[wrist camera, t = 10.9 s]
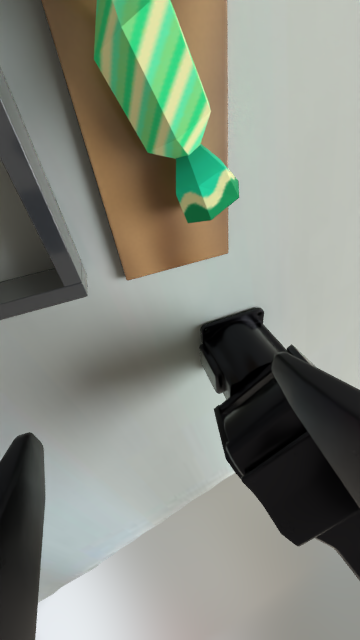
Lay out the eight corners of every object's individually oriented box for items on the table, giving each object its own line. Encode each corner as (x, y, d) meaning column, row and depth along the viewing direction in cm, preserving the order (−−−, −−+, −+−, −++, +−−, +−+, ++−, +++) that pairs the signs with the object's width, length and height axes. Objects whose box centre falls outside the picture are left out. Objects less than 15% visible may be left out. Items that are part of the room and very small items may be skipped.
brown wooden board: (216, -418, 7) (226, -455, 7) (225, 250, 20) (228, 253, 19) (-104, -475, 6) (-120, -525, 5) (125, 277, 19) (126, 281, 18)
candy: (-19, -84, 8) (15, -266, 5) (53, -111, 9) (112, -273, 6) (173, 225, 16) (228, 218, 13) (200, 190, 17) (255, 177, 14)
